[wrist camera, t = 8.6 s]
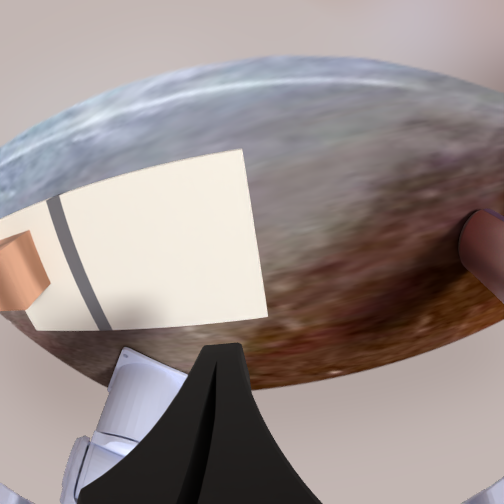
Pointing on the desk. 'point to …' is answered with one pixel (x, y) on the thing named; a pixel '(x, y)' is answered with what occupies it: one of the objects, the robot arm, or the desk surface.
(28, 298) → the block
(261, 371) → the desk surface
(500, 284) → the beverage can
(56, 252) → the board
